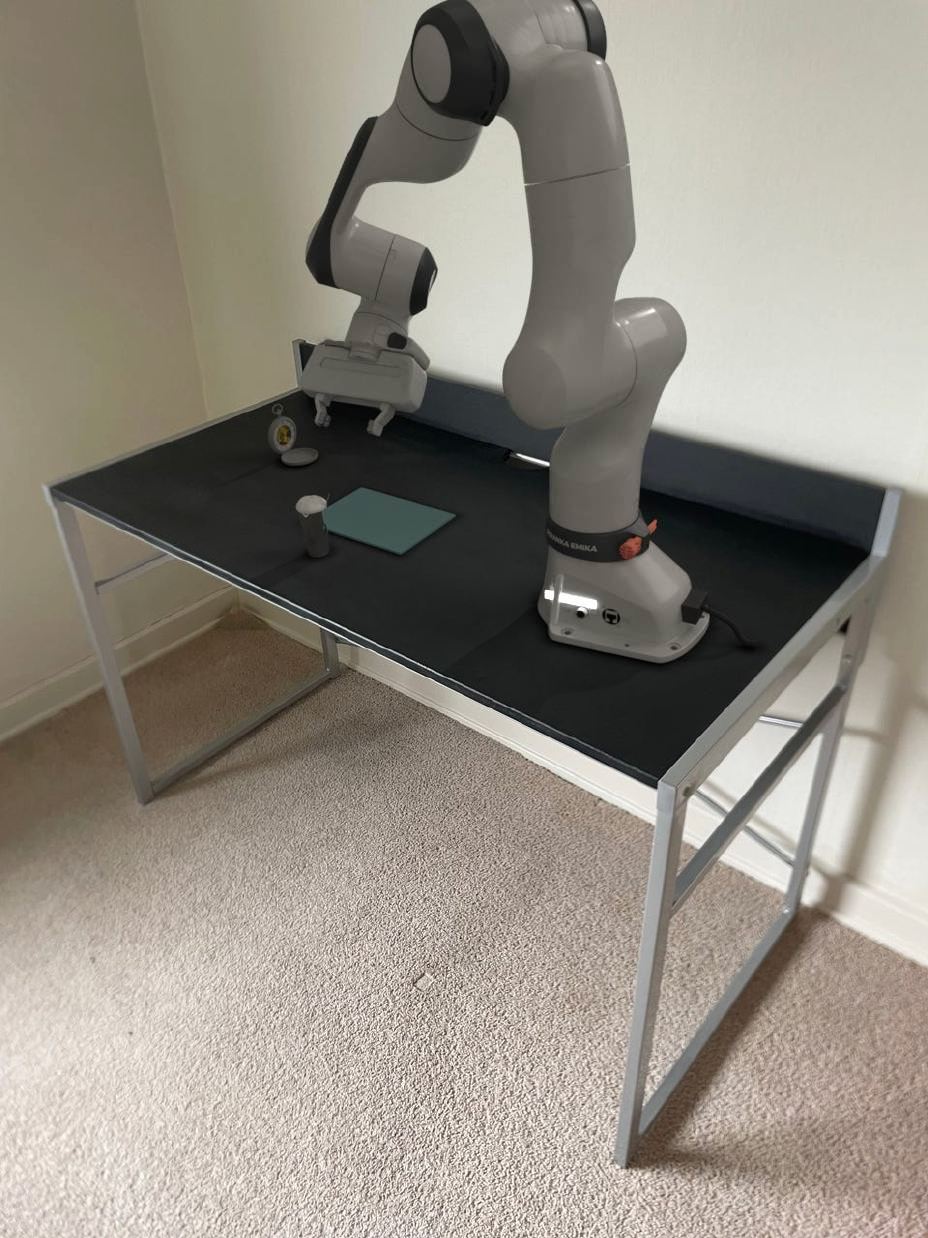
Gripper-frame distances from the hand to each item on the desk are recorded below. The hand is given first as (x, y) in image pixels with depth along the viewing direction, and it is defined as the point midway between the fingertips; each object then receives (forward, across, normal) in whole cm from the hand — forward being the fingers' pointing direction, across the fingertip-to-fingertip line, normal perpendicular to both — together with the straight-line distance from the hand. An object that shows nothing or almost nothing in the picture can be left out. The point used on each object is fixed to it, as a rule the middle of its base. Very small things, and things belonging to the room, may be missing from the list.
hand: (346, 429), depth 138 cm
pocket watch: (0, -24, +23) cm, 33 cm away
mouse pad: (+10, +3, +12) cm, 16 cm away
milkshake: (+19, 0, +4) cm, 19 cm away
